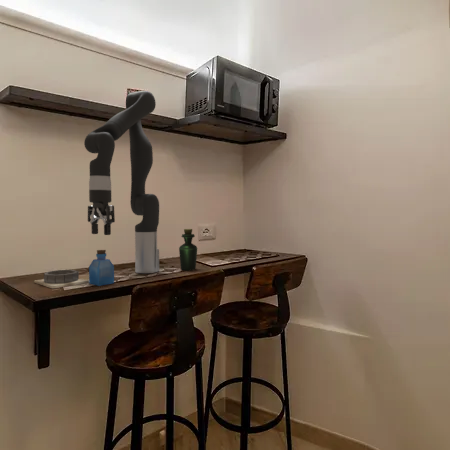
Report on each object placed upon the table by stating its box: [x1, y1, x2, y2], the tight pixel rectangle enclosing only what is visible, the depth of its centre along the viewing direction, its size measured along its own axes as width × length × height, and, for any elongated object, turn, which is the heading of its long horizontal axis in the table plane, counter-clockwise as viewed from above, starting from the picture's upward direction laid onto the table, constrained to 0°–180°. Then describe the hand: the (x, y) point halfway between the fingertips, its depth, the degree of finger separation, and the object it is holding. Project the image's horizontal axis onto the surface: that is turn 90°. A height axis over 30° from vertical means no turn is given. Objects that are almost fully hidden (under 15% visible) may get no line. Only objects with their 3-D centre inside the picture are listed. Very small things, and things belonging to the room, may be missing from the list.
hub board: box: [33, 269, 89, 289], centre depth 130 cm, size 13×15×4 cm
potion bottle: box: [178, 228, 198, 272], centre depth 158 cm, size 8×8×18 cm
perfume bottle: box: [88, 249, 115, 287], centre depth 128 cm, size 6×6×12 cm
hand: (100, 234), depth 128 cm, fingers open, 8 cm apart
